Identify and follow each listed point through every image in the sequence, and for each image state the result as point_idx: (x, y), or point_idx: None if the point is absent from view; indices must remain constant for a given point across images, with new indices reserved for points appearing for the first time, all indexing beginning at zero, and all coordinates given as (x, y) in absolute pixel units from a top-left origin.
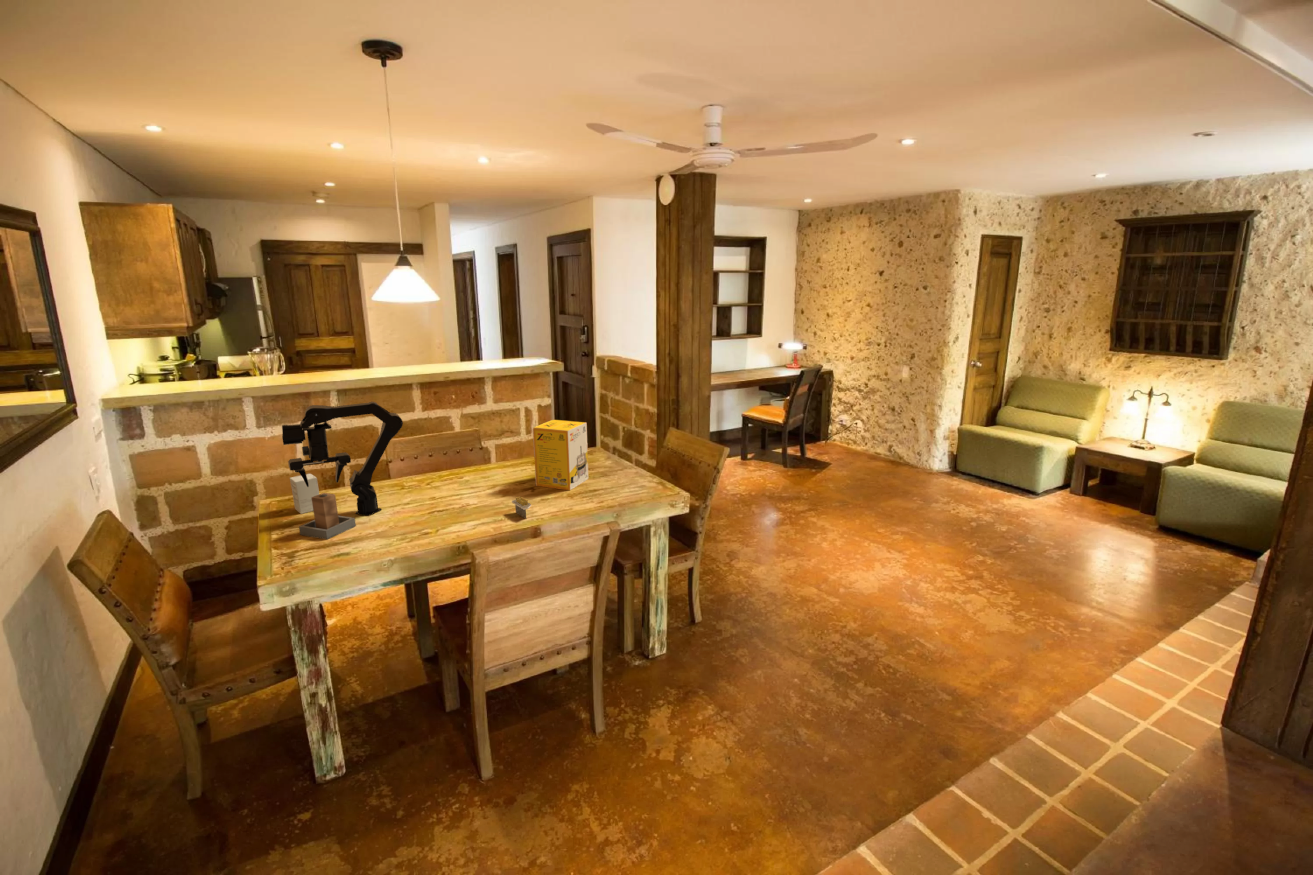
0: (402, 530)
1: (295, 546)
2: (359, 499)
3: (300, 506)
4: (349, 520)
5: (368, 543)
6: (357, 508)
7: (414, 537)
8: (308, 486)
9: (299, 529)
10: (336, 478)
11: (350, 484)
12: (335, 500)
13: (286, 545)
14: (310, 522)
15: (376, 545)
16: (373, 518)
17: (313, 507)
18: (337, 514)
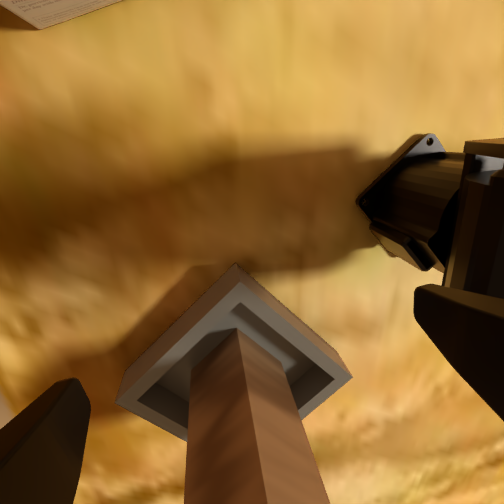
0: (455, 427)
1: (133, 462)
2: (435, 257)
3: (9, 7)
4: (329, 396)
5: (351, 485)
6: (383, 235)
7: (463, 475)
8: (89, 415)
9: (119, 391)
10: (460, 370)
11: (501, 255)
12: (324, 497)
13: (96, 449)
14: (162, 370)
15: (367, 499)
16: (409, 293)
17: (188, 488)
18: (295, 411)
